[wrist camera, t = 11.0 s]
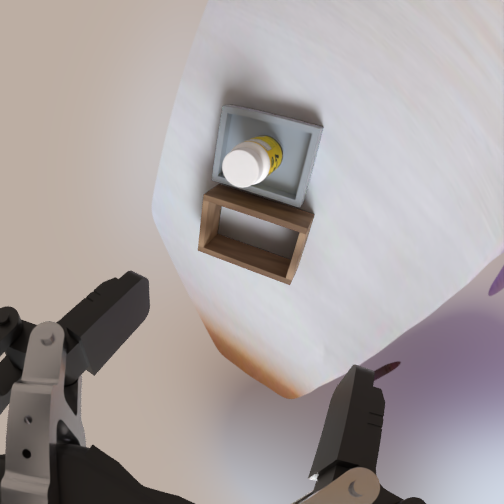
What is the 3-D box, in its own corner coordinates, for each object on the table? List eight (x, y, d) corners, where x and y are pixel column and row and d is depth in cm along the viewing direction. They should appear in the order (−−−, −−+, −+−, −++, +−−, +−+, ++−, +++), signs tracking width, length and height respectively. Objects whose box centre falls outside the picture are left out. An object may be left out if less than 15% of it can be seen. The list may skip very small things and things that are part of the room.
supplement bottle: (273, 178, 38) (249, 200, 31) (242, 159, 38) (211, 176, 31) (291, 146, 35) (270, 161, 28) (258, 127, 35) (229, 137, 28)
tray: (230, 104, 36) (222, 105, 34) (323, 127, 33) (320, 129, 31) (219, 175, 41) (211, 180, 39) (303, 201, 39) (299, 208, 37)
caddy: (219, 183, 42) (203, 194, 38) (314, 214, 39) (307, 228, 35) (212, 236, 47) (197, 250, 43) (297, 267, 44) (289, 285, 40)
